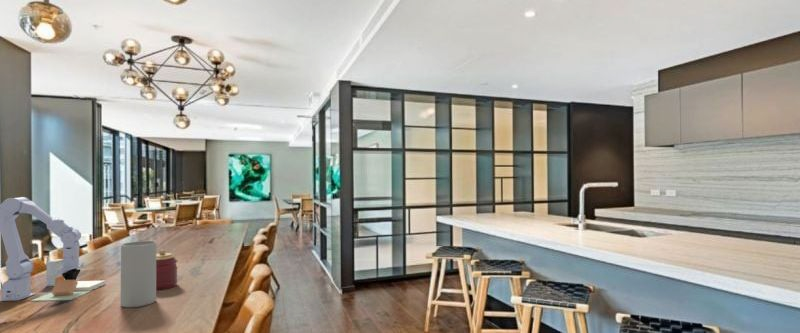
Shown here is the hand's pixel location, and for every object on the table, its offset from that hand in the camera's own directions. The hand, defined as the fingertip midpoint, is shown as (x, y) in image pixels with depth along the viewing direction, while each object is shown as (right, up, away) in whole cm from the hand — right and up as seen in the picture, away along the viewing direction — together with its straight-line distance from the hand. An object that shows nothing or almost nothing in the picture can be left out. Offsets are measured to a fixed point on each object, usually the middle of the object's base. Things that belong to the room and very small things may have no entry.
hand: (70, 286), depth 185 cm
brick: (+1, 0, -3) cm, 3 cm away
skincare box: (-19, -4, +15) cm, 24 cm away
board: (-1, -3, +7) cm, 8 cm away
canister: (+36, -3, +9) cm, 38 cm away
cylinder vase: (+42, -3, -16) cm, 45 cm away
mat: (0, -3, -5) cm, 6 cm away
